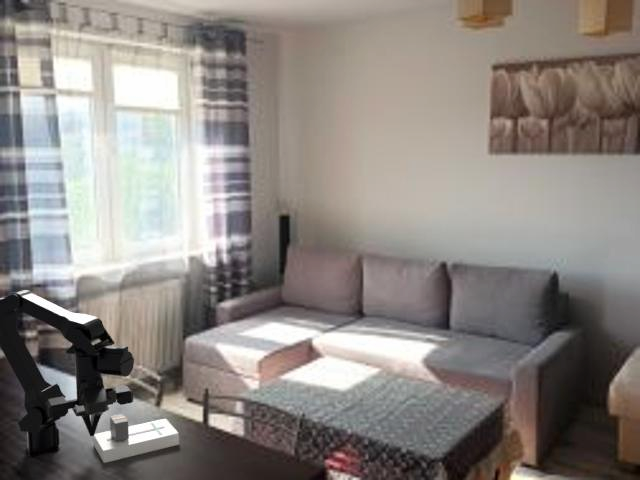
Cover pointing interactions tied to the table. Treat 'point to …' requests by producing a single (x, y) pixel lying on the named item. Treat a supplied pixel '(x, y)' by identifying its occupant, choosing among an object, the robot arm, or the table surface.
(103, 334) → the robot arm
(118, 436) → the fader
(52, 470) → the table surface
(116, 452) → the console
